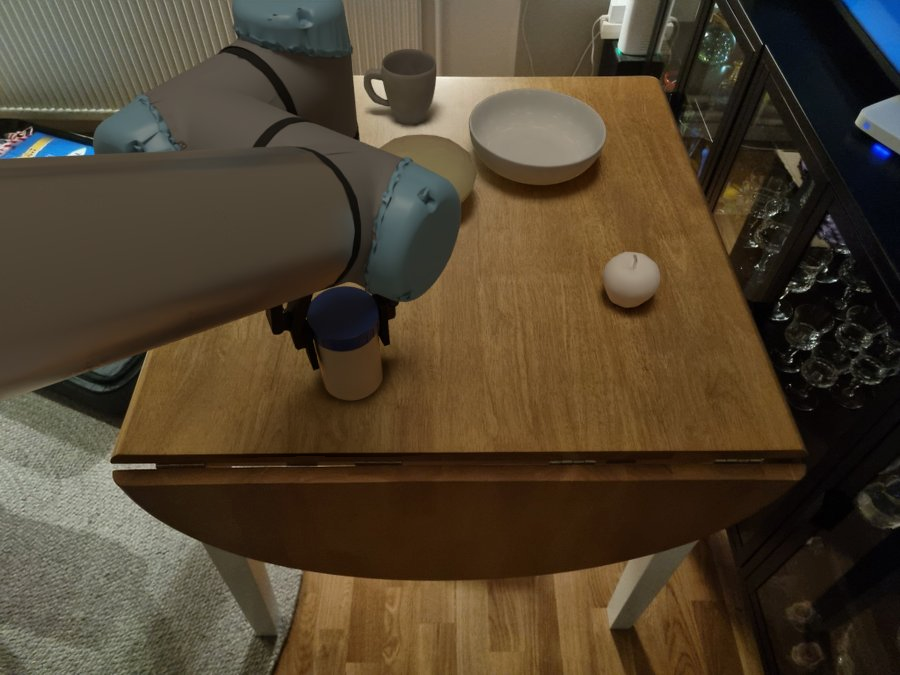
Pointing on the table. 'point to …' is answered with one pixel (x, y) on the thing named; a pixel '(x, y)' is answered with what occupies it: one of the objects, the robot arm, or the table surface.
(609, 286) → the apple
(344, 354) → the jar
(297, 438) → the table surface
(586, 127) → the serving bowl
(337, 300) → the jar lid
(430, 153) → the flask
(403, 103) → the mug
